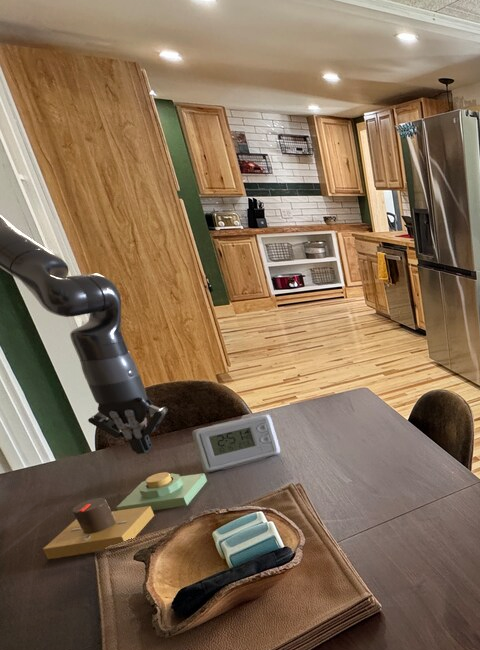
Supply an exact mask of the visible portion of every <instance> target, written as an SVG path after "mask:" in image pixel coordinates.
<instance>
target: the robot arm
mask: <svg viewBox="0 0 480 650" xmlns="http://www.w3.org/2000/svg"><path fill="white" fill-rule="evenodd" d="M0 269H2V270H3V271H5V272H7V273H8V274H10V275H11V276H12V277H14V278H15V279H16V280H18V281H20V282H21V283H22V284H23V285H24V286H25V287H26V289H27V290H28V291H29V292H30V293H31V294H32V295H33V297H34V298H35V299H36V301H37V302H38V304H40V306H41V307H42V308H43V309H44V310H46V311H47V312H48V313H50V314H53V315H56V316H59V317H64V318H72V317H78V316H79V317H80V316H84V315H89V316H88V320H87V322H86V323H84V324H82V325H81V326H78V327H76V328H74V329H72V330H71V332H70V333H69V338H70V341H71V343H72V346H73V348H74V350H75V352H76V355H77V357H78V359H79V362H80V368H81V371H82V374H83V376H84V378H85V380H86V383H87V385H88V387H89V389H90V392H91V394H92V397H93V399H94V401H95V403H96V404H97V405H98V407H97V411H98V412H97V413H95V414H94V415H92V416H91V417H89V418H88V419H87V421H88V422H89V424H91V425H93V426H94V427H96V428H98V429H100V430H102V431H103V432H105V433H106V434H108V435H110V436H112V437H114V438H116V439H119V438H124V439H126V440H127V441H128V443H129V445H130V447H131V450H132V451H133V452H134V453H136V455H141V454H147V453H148V452H149V451H151V449H152V448H153V443H152V441H151V439H150V436H149V435H151V434H152V433H153V432H154V431H156V430H157V429H158V428H159V426H160V424H162V421H163V419H164V418H165V416H166V415H167V413H168V411H169V409H168V407H166V406H162V407H158V406H156V405H154V404H153V402H152V400H151V399H149V398H148V396H147V389H146V388H145V385H144V383H143V380H142V377H141V375H140V372H139V370H138V367H137V364H136V361H135V360H134V358H133V357H132V355H131V353H130V351H129V348H128V346H127V343H126V341H125V337H124V335H123V332H122V298H121V295H120V291H119V290H118V288H117V286H116V285H115V283H114V282H113V281H112V280H110V279H109V278H108V277H107V276H104V275H102V274H99V273H84V274H79V275H77V274H76V275H71V276H68V275H69V272H70V271H69V266H68V264H67V263H66V262H65V260H63V259H62V258H61V257H59V256H58V255H57V254H55V253H54V252H53V251H51V250H49V249H48V248H46V247H45V246H43V245H42V244H40V243H39V242H37V241H36V240H34V239H32V238H31V237H30V236H28V235H27V234H25V233H24V232H23V231H21V230H20V229H18V228H17V227H16V226H15V225H13V224H12V223H11V222H9V220H7V219H6V218H4V217H3V216H2V215H1V214H0ZM148 415H149V417H150V418H151V419H150V420H149V422H148V419H147V416H148Z"/></svg>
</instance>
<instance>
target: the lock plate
mask: <svg viewBox="0 0 480 650" xmlns="http://www.w3.org/2000/svg"><path fill="white" fill-rule="evenodd" d="M111 512H112V514H113V516H114V518H115V520H116V521H115V523H114V524H113V525H112V526H110V527H108V528H106V529H104V530H102V531H99V532H95V533H84V532H83V530H82V528H81V527H80V525H79V523H78V521H77V519H76V518H75V519H74V521H72V522H71V523H70V524H69V525H68V526H66V527H65V528H64V529H62V531H61V532H60V533H59V534H58V535H57V536H56V537H54V538H53V539H52V540H51V541H50V542H49V543H47V545H45V546H44V547H43V548H42V551H43V552H44V554H45V556H46V558H47V560H53V559H59V558H64V557H65V558H66V557H71V556H78V555H84V554H91V553H95V552H96V553H97V552H101V551H100V550H102V549H103V548H104V549H105V548H106V547H108V546H110V545H114V544H118V543H121V542H124V541H126V540H128V539H131V538H132V539H133V538H134V539H135V538H136V537H137V536H138V535H139V534H140V533H141V531H142V530H143V529H144V527H146V526H147V524H148V523H149V522H150V521H151V520H152V519H153V517H155V514H154V510H153V511H152V509H151V507H150V506H147V507H140V508H133V509H126V510H119V511H118V510H114V511H112V510H111ZM134 539H133V540H134ZM102 551H103V550H102Z"/></svg>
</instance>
